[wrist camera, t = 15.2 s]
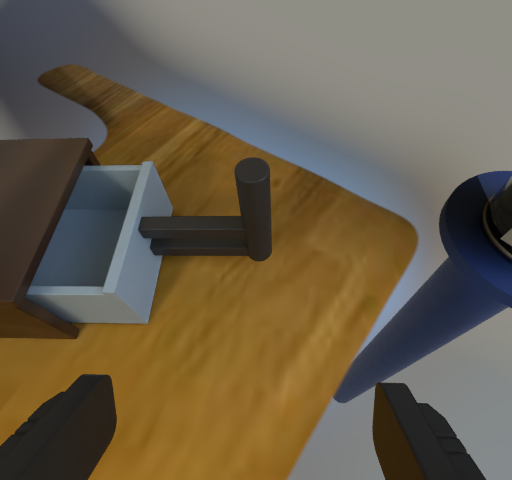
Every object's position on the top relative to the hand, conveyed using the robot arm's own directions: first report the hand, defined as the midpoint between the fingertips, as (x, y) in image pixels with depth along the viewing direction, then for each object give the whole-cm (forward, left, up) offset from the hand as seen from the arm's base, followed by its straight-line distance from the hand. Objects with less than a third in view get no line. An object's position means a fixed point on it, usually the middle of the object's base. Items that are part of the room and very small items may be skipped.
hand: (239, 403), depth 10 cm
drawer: (+11, -12, -13) cm, 21 cm away
